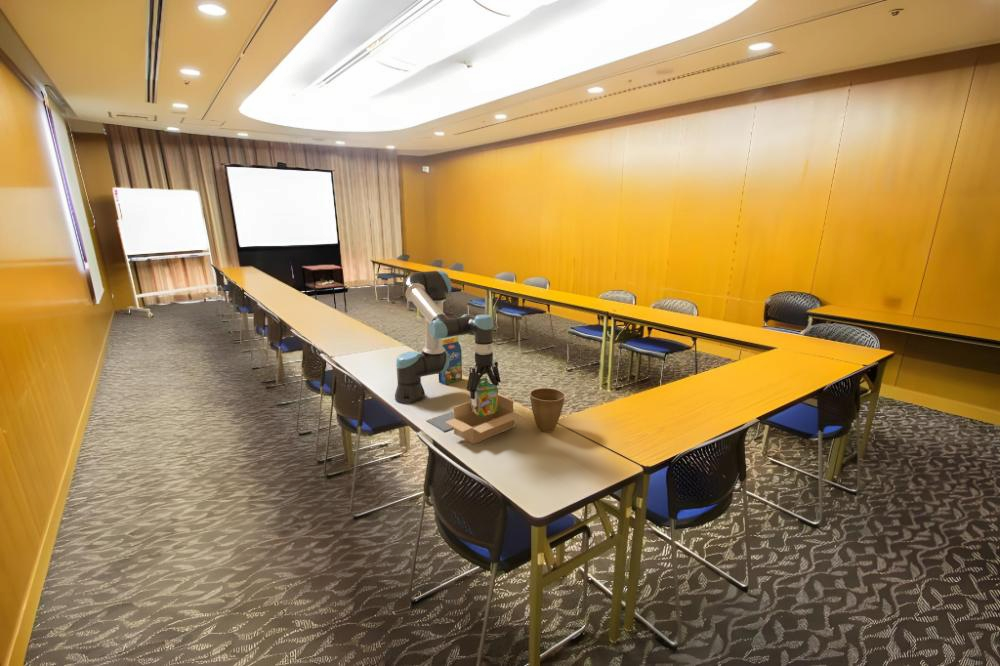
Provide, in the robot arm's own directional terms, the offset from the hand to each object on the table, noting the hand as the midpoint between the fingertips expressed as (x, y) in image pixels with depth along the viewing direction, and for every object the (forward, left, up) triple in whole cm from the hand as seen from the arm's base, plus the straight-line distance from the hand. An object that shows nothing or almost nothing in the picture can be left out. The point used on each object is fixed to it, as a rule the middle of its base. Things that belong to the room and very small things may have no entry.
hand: (483, 402), depth 186 cm
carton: (+3, -2, -13) cm, 13 cm away
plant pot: (+17, +21, -13) cm, 30 cm away
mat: (-17, -7, -13) cm, 22 cm away
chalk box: (0, 0, -5) cm, 5 cm away
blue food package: (-59, +25, -13) cm, 65 cm away
